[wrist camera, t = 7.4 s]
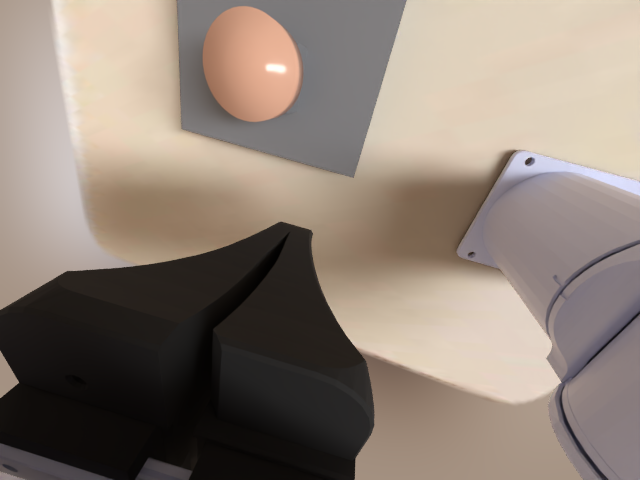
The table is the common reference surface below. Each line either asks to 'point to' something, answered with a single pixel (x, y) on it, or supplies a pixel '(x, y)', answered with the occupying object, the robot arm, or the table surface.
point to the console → (318, 78)
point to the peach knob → (252, 64)
